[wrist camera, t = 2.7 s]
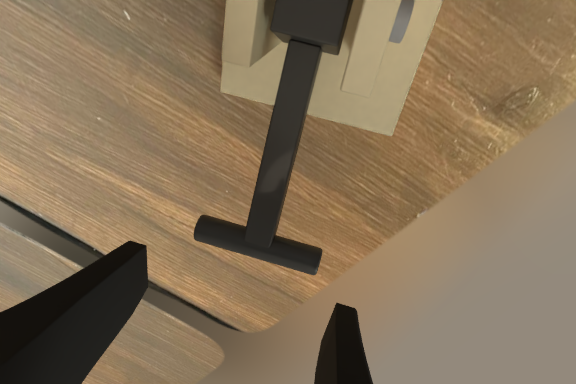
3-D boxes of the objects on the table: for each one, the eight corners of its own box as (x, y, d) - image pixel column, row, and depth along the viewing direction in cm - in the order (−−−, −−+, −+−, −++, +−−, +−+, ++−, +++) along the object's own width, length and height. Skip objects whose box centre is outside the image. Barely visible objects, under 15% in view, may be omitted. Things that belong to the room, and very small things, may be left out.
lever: (317, 261, 16) (313, 289, 13) (206, 229, 16) (184, 250, 14) (400, -18, 13) (413, -45, 10) (261, -50, 13) (244, -82, 11)
